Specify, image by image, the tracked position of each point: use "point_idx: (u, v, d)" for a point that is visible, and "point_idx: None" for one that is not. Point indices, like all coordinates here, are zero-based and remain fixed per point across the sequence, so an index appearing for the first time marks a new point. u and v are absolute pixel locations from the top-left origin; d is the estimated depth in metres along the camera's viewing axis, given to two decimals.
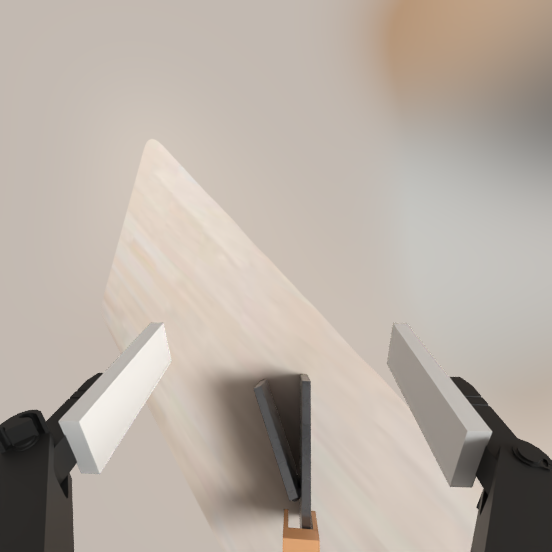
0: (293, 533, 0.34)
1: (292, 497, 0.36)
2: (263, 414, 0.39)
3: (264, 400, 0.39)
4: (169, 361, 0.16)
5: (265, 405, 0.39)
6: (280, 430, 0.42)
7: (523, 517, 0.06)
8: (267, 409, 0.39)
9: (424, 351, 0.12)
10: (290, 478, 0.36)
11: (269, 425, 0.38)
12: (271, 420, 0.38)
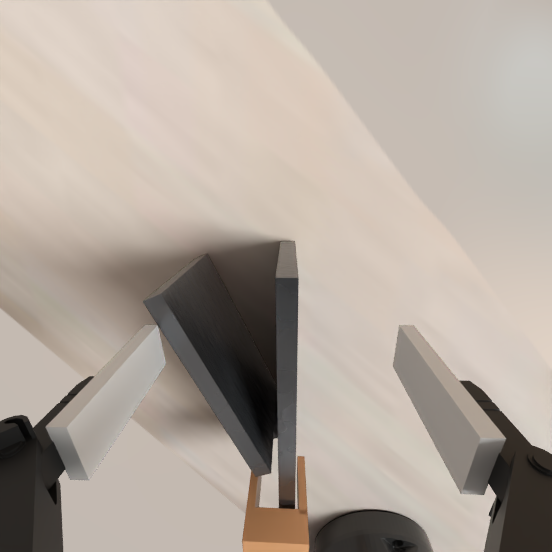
0: (263, 523, 0.19)
1: (261, 473, 0.19)
2: (180, 354, 0.16)
3: (176, 326, 0.15)
4: (163, 364, 0.16)
5: (181, 336, 0.15)
6: (237, 353, 0.21)
7: (539, 527, 0.06)
8: (188, 344, 0.15)
9: (432, 354, 0.12)
10: (255, 450, 0.18)
11: (199, 373, 0.16)
12: (201, 364, 0.16)
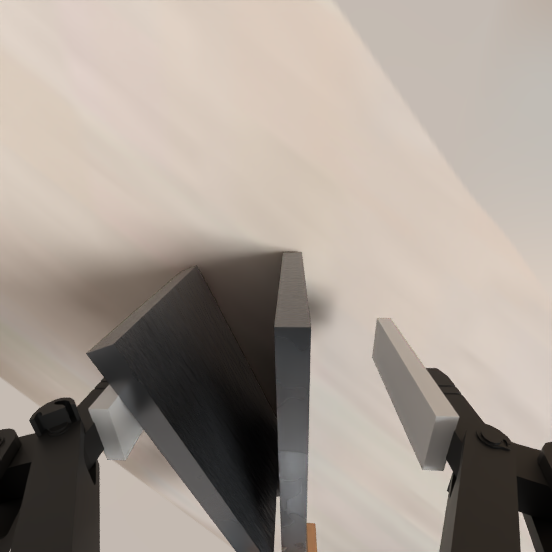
0: None
1: None
2: (146, 426, 0.11)
3: (139, 389, 0.10)
4: None
5: (147, 403, 0.10)
6: (233, 400, 0.16)
7: (487, 496, 0.07)
8: (157, 413, 0.10)
9: (404, 344, 0.13)
10: (252, 544, 0.13)
11: (174, 452, 0.11)
12: (178, 440, 0.11)
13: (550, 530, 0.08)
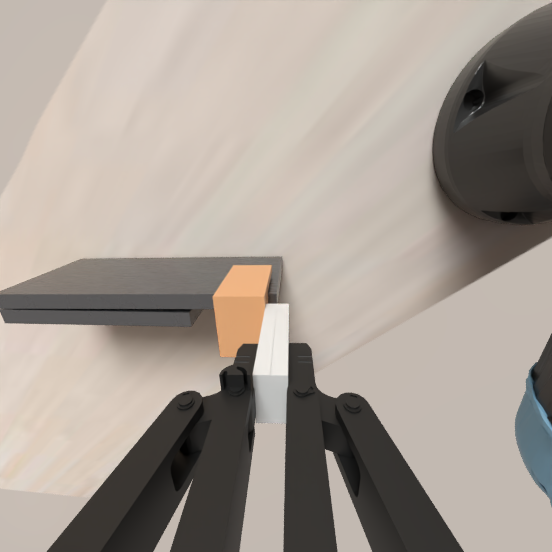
0: None
1: (187, 320, 0.20)
2: (50, 321, 0.20)
3: (25, 312, 0.20)
4: None
5: (34, 313, 0.20)
6: None
7: (304, 438, 0.08)
8: (41, 312, 0.20)
9: (284, 323, 0.15)
10: (158, 313, 0.20)
11: (68, 317, 0.20)
12: (60, 312, 0.20)
13: (352, 465, 0.09)
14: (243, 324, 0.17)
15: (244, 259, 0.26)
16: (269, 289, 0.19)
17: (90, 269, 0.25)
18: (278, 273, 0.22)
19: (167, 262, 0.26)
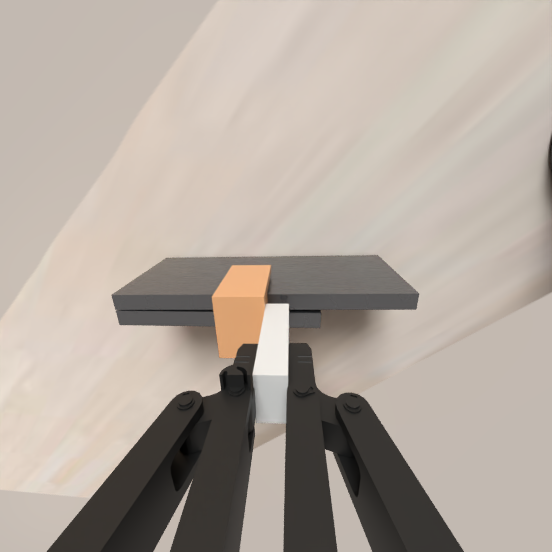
0: None
1: (317, 321, 0.19)
2: (168, 323, 0.20)
3: (144, 313, 0.19)
4: None
5: (153, 314, 0.19)
6: None
7: (304, 438, 0.08)
8: (161, 313, 0.19)
9: (284, 323, 0.15)
10: None
11: (190, 319, 0.19)
12: (182, 313, 0.19)
13: (352, 466, 0.09)
14: (243, 325, 0.17)
15: (341, 258, 0.25)
16: (405, 288, 0.19)
17: (188, 268, 0.24)
18: (395, 272, 0.22)
19: (263, 261, 0.25)
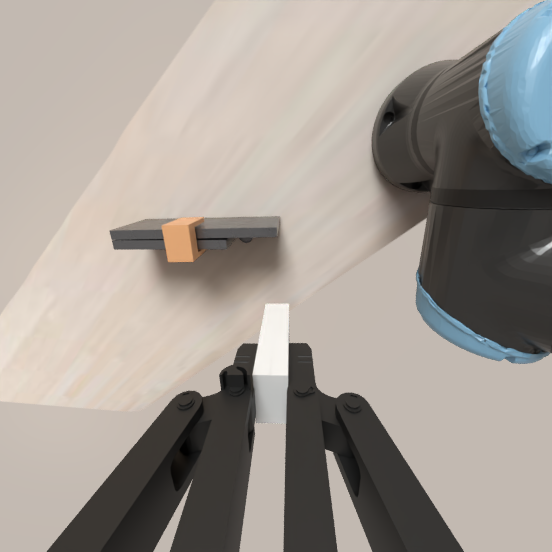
0: None
1: (224, 245, 0.34)
2: (142, 247, 0.34)
3: (128, 242, 0.34)
4: None
5: (133, 242, 0.34)
6: None
7: (304, 438, 0.08)
8: (137, 241, 0.34)
9: (284, 323, 0.15)
10: (207, 241, 0.34)
11: (153, 245, 0.34)
12: (149, 241, 0.34)
13: (352, 465, 0.09)
14: (178, 241, 0.32)
15: (255, 218, 0.40)
16: (272, 226, 0.33)
17: (157, 222, 0.39)
18: (277, 221, 0.36)
19: (205, 219, 0.40)
